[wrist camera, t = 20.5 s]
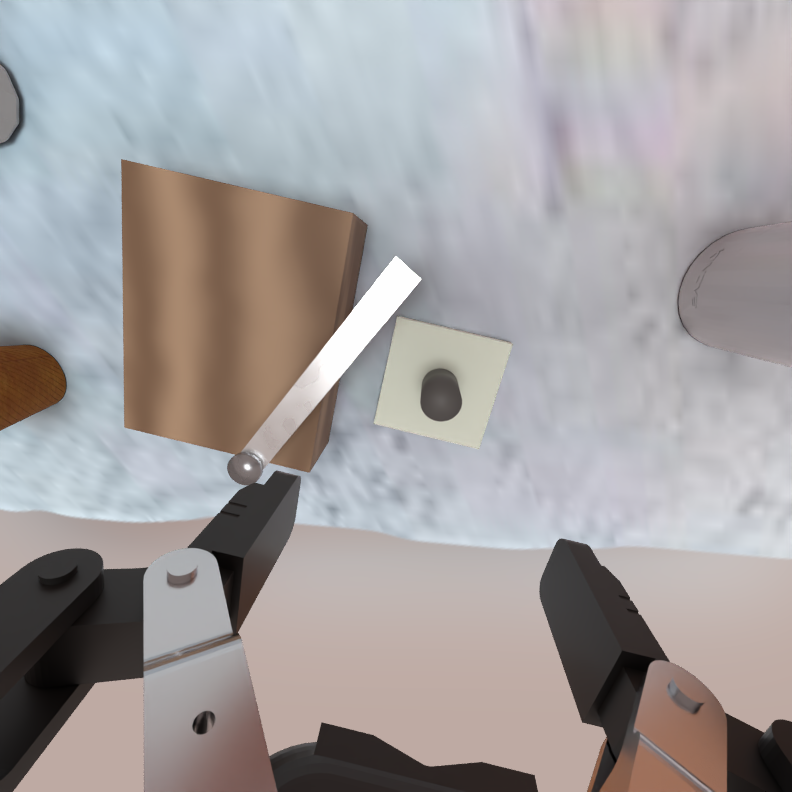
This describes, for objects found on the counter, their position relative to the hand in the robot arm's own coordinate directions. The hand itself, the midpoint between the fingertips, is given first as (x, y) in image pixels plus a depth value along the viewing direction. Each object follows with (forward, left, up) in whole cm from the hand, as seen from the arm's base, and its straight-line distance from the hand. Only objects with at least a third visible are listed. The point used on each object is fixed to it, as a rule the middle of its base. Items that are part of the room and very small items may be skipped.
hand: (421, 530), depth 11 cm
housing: (+16, 0, -23) cm, 28 cm away
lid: (-1, +1, -24) cm, 24 cm away
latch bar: (+7, +1, -15) cm, 17 cm away
